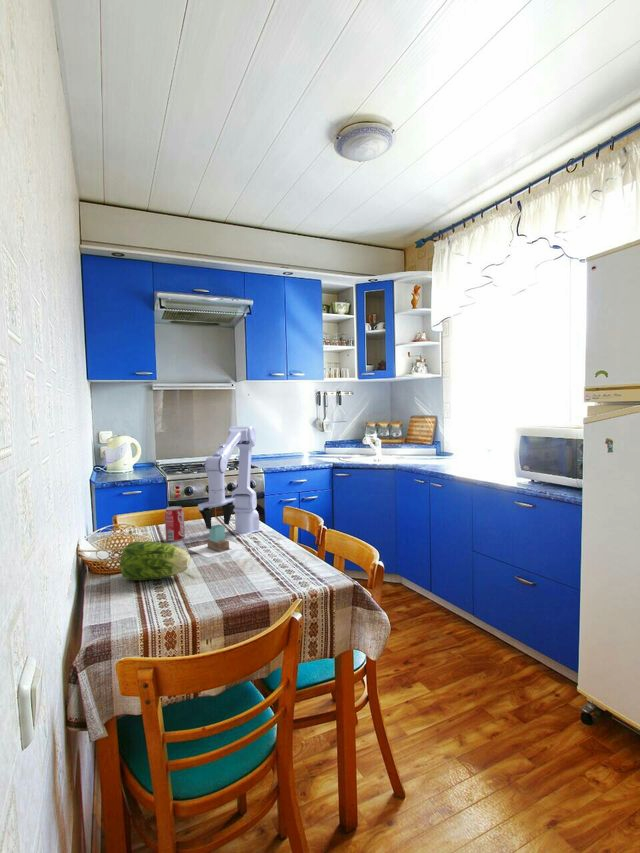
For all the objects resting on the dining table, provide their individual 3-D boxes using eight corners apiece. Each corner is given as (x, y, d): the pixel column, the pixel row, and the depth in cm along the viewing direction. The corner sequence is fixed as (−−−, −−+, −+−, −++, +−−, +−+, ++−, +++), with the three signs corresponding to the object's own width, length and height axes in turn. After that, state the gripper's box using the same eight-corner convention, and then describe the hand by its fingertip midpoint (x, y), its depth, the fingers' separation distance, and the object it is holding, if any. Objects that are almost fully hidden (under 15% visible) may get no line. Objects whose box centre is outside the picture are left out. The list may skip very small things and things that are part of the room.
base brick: (217, 544, 171) (216, 536, 170) (229, 549, 165) (228, 541, 165) (207, 547, 168) (207, 539, 168) (219, 551, 162) (219, 543, 162)
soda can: (181, 543, 176) (180, 509, 175) (163, 543, 176) (161, 509, 175) (187, 537, 183) (186, 505, 182) (169, 538, 183) (168, 505, 182)
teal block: (219, 537, 169) (218, 524, 169) (225, 539, 166) (224, 526, 166) (209, 540, 166) (209, 526, 166) (215, 542, 164) (215, 528, 163)
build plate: (224, 540, 178) (224, 539, 178) (246, 548, 168) (246, 546, 168) (187, 550, 166) (187, 548, 166) (207, 559, 156) (207, 557, 156)
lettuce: (185, 585, 134) (183, 547, 133) (114, 586, 134) (113, 548, 133) (195, 571, 145) (194, 536, 145) (131, 572, 145) (129, 537, 145)
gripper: (227, 485, 173) (228, 520, 174) (192, 490, 163) (194, 528, 164) (238, 487, 168) (239, 523, 169) (203, 493, 158) (204, 532, 159)
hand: (217, 526), depth 166 cm, fingers open, 7 cm apart
